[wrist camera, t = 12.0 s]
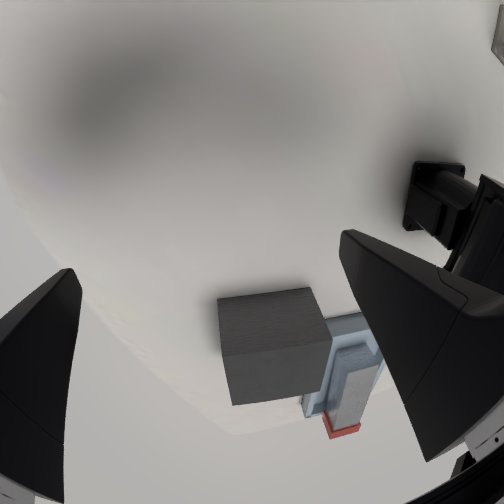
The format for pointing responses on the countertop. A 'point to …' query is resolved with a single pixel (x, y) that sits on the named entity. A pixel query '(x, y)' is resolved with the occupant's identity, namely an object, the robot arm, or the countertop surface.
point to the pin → (349, 389)
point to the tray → (344, 335)
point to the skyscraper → (499, 37)
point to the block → (273, 345)
